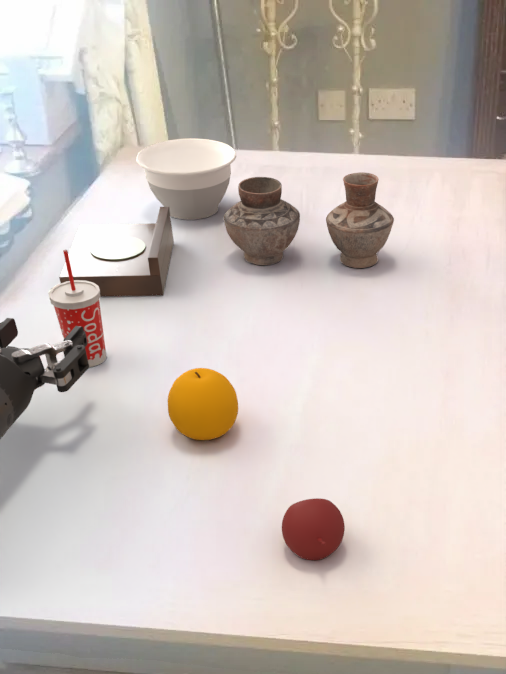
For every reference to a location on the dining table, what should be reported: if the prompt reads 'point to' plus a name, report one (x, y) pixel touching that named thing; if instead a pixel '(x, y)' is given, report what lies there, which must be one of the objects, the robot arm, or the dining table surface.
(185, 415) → the apple
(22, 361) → the robot arm
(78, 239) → the shelf
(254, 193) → the pottery
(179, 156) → the bowl
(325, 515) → the fruit
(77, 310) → the beverage cup
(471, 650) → the dining table surface
